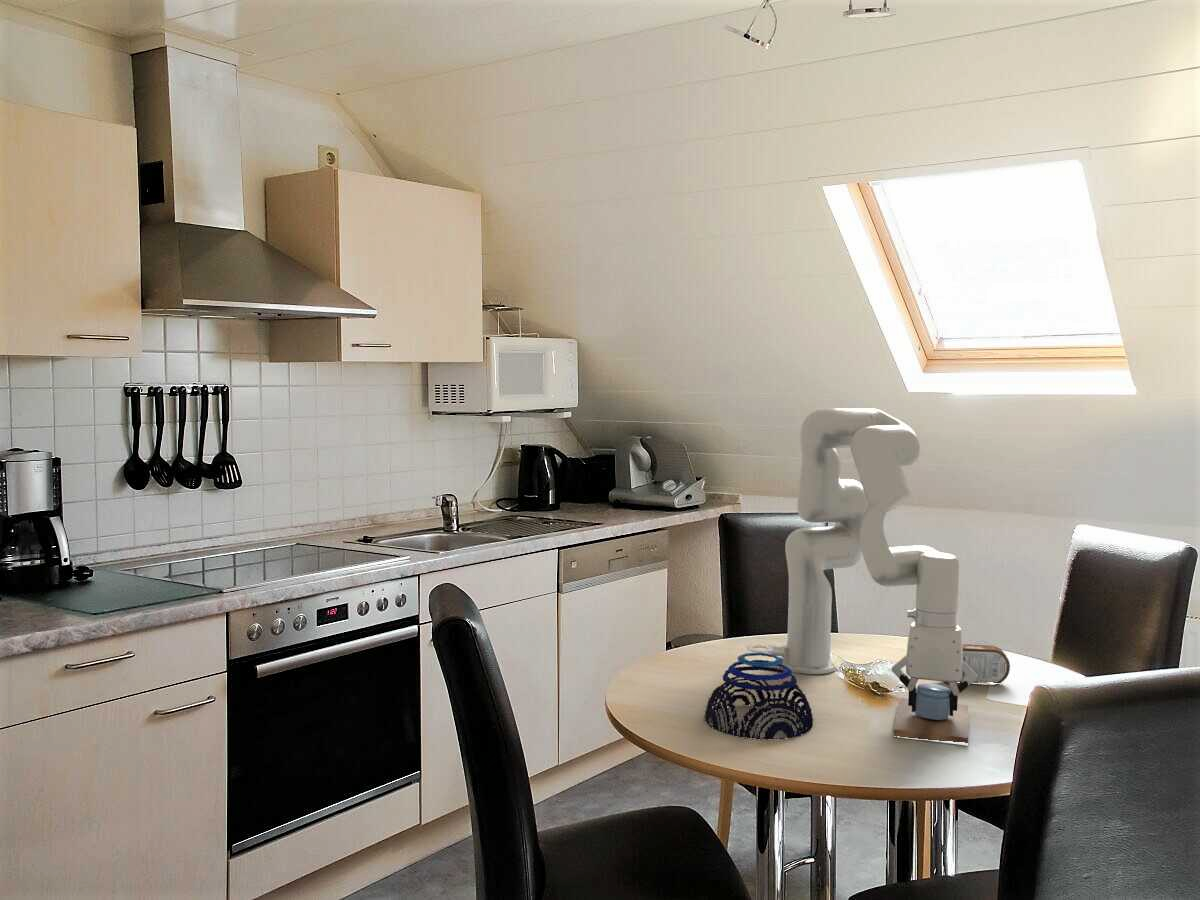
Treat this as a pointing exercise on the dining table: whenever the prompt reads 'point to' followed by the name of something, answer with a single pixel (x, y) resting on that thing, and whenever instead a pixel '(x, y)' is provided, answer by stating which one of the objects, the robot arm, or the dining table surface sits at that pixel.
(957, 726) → the post base
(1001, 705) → the dining table surface
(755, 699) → the decorative bowl
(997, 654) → the tin
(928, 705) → the cap
